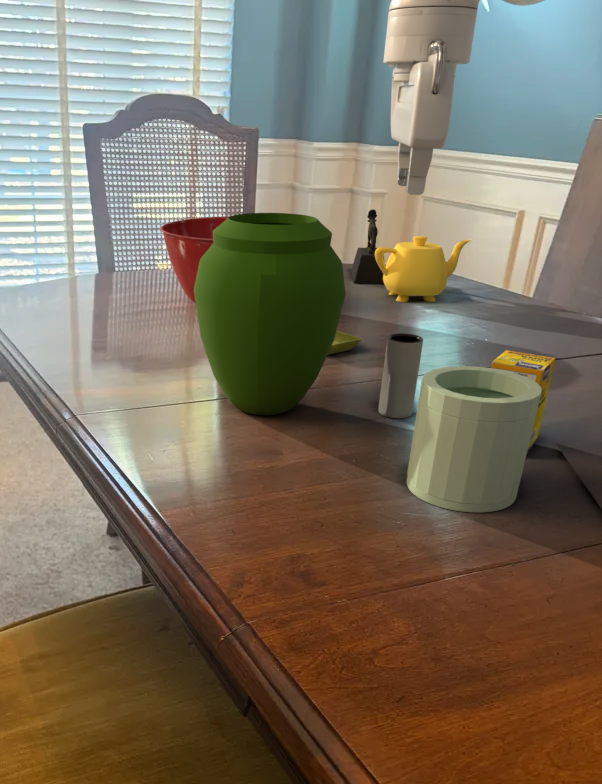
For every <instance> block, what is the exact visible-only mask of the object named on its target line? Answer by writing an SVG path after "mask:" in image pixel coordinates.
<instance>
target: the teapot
mask: <svg viewBox="0 0 602 784" xmlns="http://www.w3.org/2000/svg"><path fill="white" fill-rule="evenodd" d="M412 239H413V241H400V242H398V243H396V244H395V247H385V246H381V247H376V248H377V249H376V251H375V259H376V262H377V264H378V265H379V267H380V269H381V270H382V272H383V273H384V275H383V282H384V284H383V285H384V286H385V288H386V290H387V291H389V293H388V295H389V296H397V297H396V299H395V301H396V302H400V303H405V302H408V301H409V298H410V297H412V296H413V297H414V296H415V297H417V296H418V297H419V296H420V297H423V301H424V302H429V303H430V302H431V303H432V302H433V303H434V302H436V301H437V300H436V297H435V296H439V295H441V293H443V291H444V290H445V288H446V286H447V281H448V278H449V277H450V276H452V275H453V274H454V272H455V270H456V269H457V267H458V263H459V258H460V255H461V251H462V249H463V248H464V246H466V244H469V242H470V241H472V239H471V238H470V239H465V240H461V241H458V242H457V243H456V244H455V245H454V246H453V249H452V252H451V255H450V257H449V259H448V260H447V261H446V257H445V253H444V251H443V247H442V246H441V245H439V244H437V243H434V242H428V241H427V240H428V237H427V236H425V235H415V236H413V237H412ZM386 253H388V254H390V255H389V257H388V259H387V261H386V263H385V258H384V259H383V255H384V256H385V254H386Z"/></svg>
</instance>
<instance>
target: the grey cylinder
mask: <svg viewBox="0 0 602 784" xmlns="http://www.w3.org/2000/svg"><path fill="white" fill-rule="evenodd" d="M423 346H424V338H423V337H422V336H419V335H418V334H412V333H405V332H404V333H403V332H402V333H400V332H398V333H392V334H389V335H388V336H387V340H386V347H385V354H384V355H385V356H384V363H383V368H382V369H383V370H382V377H381V386H380V392H379V393H380V394H379V400H378V408H377V409H378V413H379V414H380V415H381V416H384V417H386V418H390V419H406V418H409V417H411V416H412V415H413V410H414V405H415V398H416V397H415V396H416V390H417V386H418V385H417V383H418V379H419V378H418V377H419V371H420V364H421V357H422V351H423Z"/></svg>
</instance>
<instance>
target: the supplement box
mask: <svg viewBox="0 0 602 784" xmlns="http://www.w3.org/2000/svg"><path fill="white" fill-rule="evenodd" d="M555 364H556V357H550V356H546V355H545V356H544V355H537V354H532V353H525V352H520V351H513V350H508V349H506V350H505V351H504V352H502V353H501V354H500V355H499V356H498V357H496V358H495V359H494V360H493V361H492V362H491V365H490V368H493V369H499V370H504V371H508V372H513V373H516V374H519V375H521V376H524V377H527V378H529V379H531V380H533V381H534V382H536V383H538V385H539V386H540V387H541V388H542V391H541V395H540V400H539V404H538V408H537V412H536V417H535V421H534V425H533V429H532V433H531V438H530V442H529V446H528V450H527V454H526V455H528V454H529V452H530V451H531V449H532V448H533V447H534V446H535V444H537V441H538V436H539V433H540V430H541V429H540V428H541V424H542V421H543V416H544V411H545V408H546V404H547V403H546V402H547V399H548V395H549V390H550V386H551V381H552V376H553V372H554V367H555Z"/></svg>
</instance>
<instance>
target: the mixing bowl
mask: <svg viewBox="0 0 602 784" xmlns="http://www.w3.org/2000/svg"><path fill="white" fill-rule="evenodd" d="M229 217H230V216H210V217H209V216H208V217H195V218H188V219H179V220H175V221H171V222H168V223H164V224H163V225H161V226H160V231H161V232H162V233H163V239H164V244H165V246H166V247H165V248H166V251H167V255H168V257H169V260H170V263H171V266H172V269H173V272H174V274H175V276H176V278H177V281H178V283H179V285H180V287H181V288H182V290H183V292H184V294H185V295H186V296H187V298H188V299H189V300H190V301H191V302H193V303H194V304H196V302H195V295H194V286H195V281H196V276H197V272H198V267H199V262H200V259H201V258H202V256H203V255H204V254H205V253H206V251H207V250H208V249H209V248H210V247H211V245H212V244H213V230H214V229H215V228H217V227H218V226H219V225H220V224H222V223H223V222H224V221H225V220H226V219H228V218H229Z"/></svg>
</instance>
